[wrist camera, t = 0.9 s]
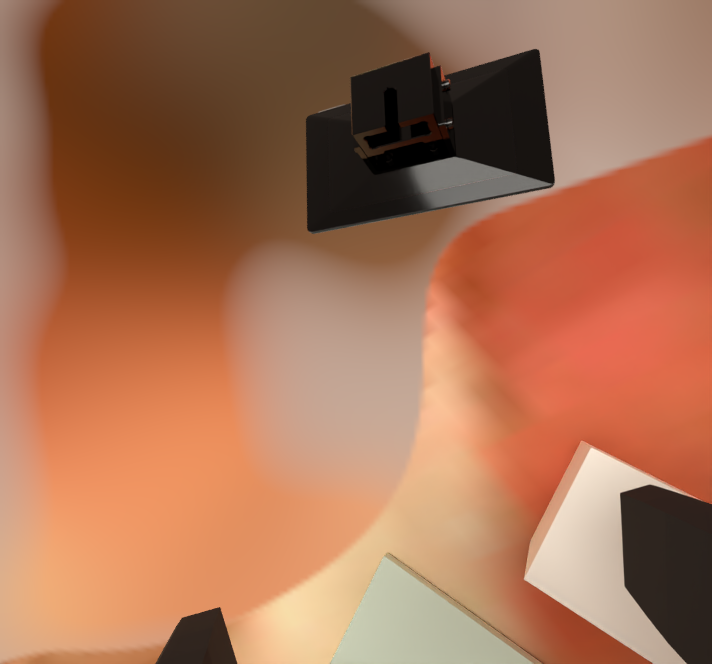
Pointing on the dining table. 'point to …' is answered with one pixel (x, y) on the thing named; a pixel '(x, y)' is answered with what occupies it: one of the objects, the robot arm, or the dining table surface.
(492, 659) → the board
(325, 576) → the dining table surface
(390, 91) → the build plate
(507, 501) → the dining table surface
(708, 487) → the dining table surface
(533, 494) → the dining table surface
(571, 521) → the peach block
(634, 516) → the robot arm
